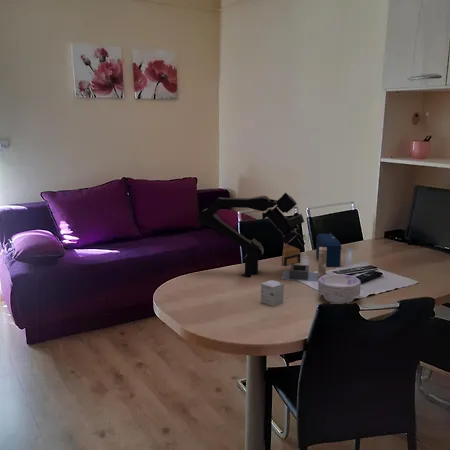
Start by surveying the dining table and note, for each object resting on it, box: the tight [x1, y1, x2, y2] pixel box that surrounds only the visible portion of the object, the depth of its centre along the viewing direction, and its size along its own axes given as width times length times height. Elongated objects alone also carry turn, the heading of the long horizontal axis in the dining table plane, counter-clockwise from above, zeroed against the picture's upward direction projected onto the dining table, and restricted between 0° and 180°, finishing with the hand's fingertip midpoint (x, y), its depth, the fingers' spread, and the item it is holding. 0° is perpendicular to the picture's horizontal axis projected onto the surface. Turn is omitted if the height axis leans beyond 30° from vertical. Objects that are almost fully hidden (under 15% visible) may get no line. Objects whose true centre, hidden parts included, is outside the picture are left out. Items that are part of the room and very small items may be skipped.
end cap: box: [289, 264, 310, 280], centre depth 197 cm, size 7×9×4 cm
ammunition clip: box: [281, 242, 301, 267], centre depth 215 cm, size 11×2×12 cm, turn 127°
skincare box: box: [260, 279, 285, 307], centre depth 169 cm, size 6×6×7 cm
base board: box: [280, 270, 330, 283], centre depth 197 cm, size 24×12×1 cm, turn 77°
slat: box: [317, 247, 327, 279], centre depth 194 cm, size 3×5×12 cm, turn 167°
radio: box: [315, 233, 342, 268], centre depth 219 cm, size 21×9×20 cm, turn 179°
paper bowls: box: [317, 273, 362, 304], centre depth 172 cm, size 15×15×8 cm
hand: (304, 247), depth 196 cm, fingers open, 9 cm apart
